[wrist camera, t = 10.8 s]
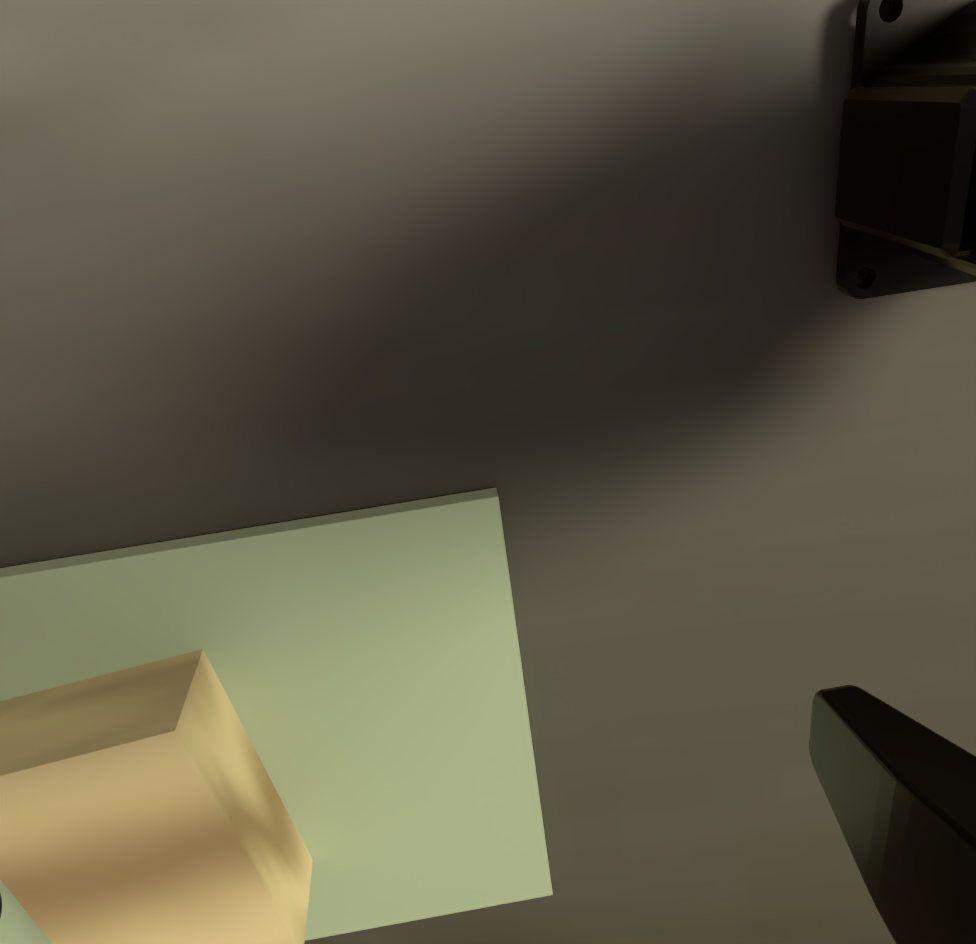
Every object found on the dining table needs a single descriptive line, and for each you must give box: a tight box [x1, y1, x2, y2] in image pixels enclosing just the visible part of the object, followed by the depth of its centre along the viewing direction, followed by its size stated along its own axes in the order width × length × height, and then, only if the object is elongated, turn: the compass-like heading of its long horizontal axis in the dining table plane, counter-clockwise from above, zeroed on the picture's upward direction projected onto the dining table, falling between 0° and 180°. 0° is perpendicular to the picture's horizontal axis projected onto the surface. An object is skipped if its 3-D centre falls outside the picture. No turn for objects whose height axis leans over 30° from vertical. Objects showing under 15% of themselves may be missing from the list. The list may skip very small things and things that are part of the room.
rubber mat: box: [0, 488, 553, 944], centre depth 23 cm, size 22×16×1 cm
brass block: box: [0, 649, 313, 944], centre depth 22 cm, size 9×6×3 cm, turn 13°
